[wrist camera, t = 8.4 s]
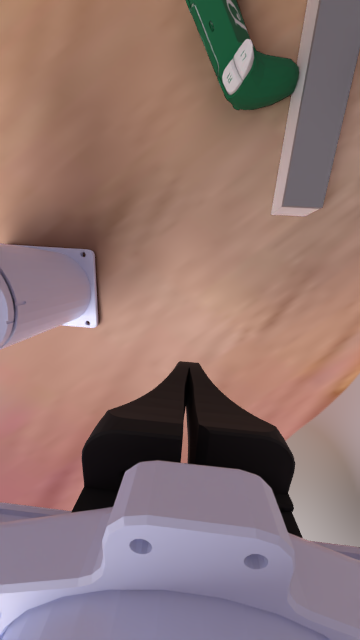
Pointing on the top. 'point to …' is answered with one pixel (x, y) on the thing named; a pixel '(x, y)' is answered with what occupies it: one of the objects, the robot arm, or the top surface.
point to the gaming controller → (241, 57)
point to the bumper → (317, 105)
